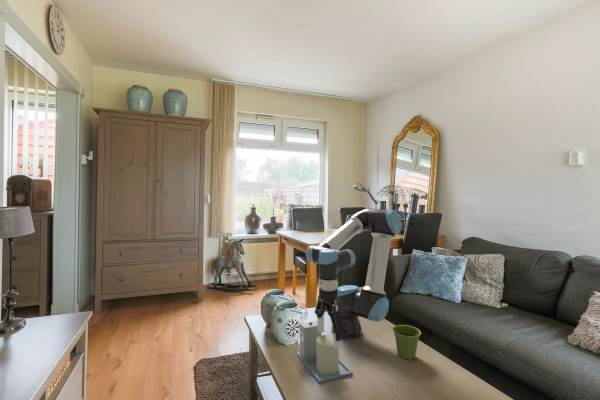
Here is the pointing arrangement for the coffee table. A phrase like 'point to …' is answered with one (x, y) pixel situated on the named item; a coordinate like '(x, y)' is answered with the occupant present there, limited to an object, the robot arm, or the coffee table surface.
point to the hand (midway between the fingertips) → (328, 339)
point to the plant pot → (406, 340)
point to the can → (327, 355)
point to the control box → (308, 340)
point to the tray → (323, 378)
